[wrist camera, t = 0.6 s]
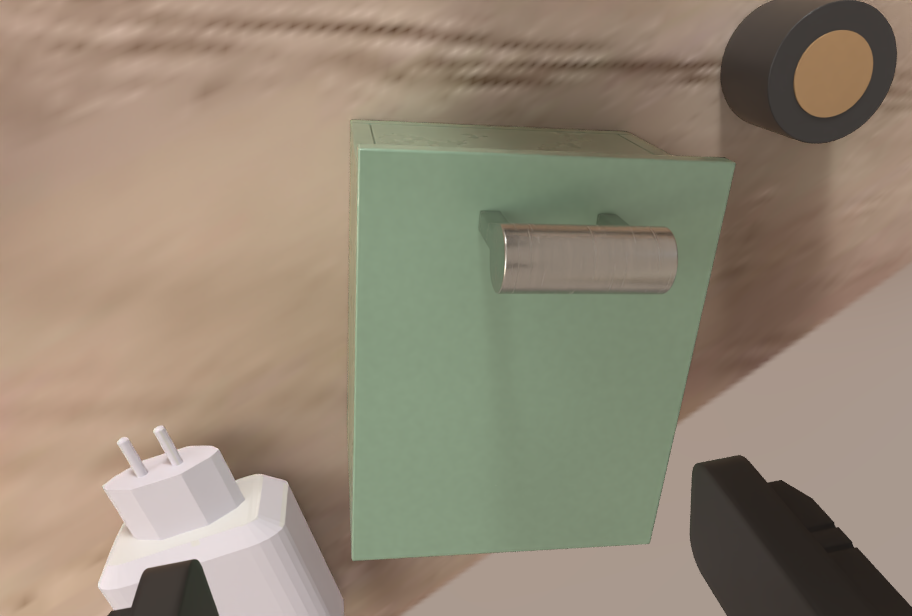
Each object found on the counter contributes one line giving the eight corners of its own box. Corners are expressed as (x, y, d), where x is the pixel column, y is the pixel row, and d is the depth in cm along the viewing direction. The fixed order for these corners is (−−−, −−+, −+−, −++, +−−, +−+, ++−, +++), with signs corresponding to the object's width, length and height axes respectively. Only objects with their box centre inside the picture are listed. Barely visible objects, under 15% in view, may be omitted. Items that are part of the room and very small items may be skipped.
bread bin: (350, 119, 31) (356, 167, 23) (628, 131, 33) (720, 179, 25) (347, 426, 38) (351, 546, 30) (580, 420, 40) (642, 530, 32)
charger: (243, 375, 35) (343, 589, 42) (60, 433, 35) (190, 639, 42) (230, 430, 31) (345, 658, 38) (22, 496, 31) (173, 714, 37)
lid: (357, 142, 23) (363, 187, 18) (725, 157, 25) (820, 200, 20) (351, 547, 30) (355, 659, 25) (642, 531, 32) (699, 632, 27)
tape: (713, 19, 32) (762, 24, 28) (833, -20, 32) (898, -19, 28) (727, 141, 34) (774, 161, 31) (838, 105, 34) (898, 120, 31)
